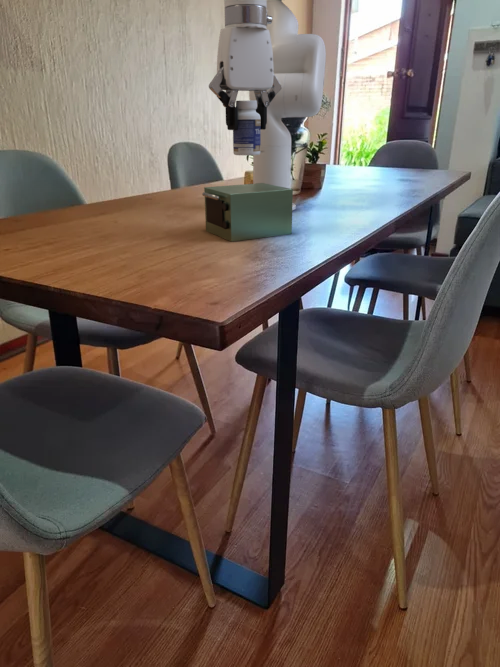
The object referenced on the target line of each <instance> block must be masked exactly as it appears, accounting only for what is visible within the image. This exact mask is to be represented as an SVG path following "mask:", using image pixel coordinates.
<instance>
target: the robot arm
mask: <svg viewBox="0 0 500 667" xmlns="http://www.w3.org/2000/svg"><path fill="white" fill-rule="evenodd" d="M223 2H224V4H223V5H224V28H221V29H220V31H219V37H218V45H217V55H216V74H215V75H214V77H213V78H212V80H211V81H210V83H209V84H208V89H209V90H210V91H211V92H212V93H213V94H214V95H215V96H216V97H217V99H218V100H219V101H220V103H221V104H222V106H223V107H224V108H225V125H226V126H227V127H226V128H227V130H228V131H233V130H237V129H238V108H237V107H236V101H237V99H238V98H237V97H238V93H239V92H248V97H249V101H257V109H256V112H257V113H258V114H259V115H260V117H261V145H260V154H259V155H252V159H253V160H252V168H253V169H252V184H256V183H265V184H270V185H275V186H280V187H285V188H289V189H291V176H292V174H291V172H292V135H291V132H290V130H289V129H288V127H287V126H286V125H285V123H284V122H283V121H282V119H285V118H310V117H315V116H316V115H318V113H319V112H320V110H321V107H322V105H323V104H322V103H323V96H324V95H323V94H324V85H325V73H326V62H327V61H326V60H327V59H326V58H327V51H326V44H325V41H324V39H323V38H322V36H320V35H319V34H315V33H299V21H298V19H297V17H296V15H295V14H294V13H293V11H292V10H291V9H290V7H289V6H288V5H286V4H285V3H284V2H283V0H223ZM296 208H297V205H296V204H295V203H293V202H292V212H293V211H295V210H296Z"/></svg>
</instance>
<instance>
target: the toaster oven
mask: <svg viewBox="0 0 500 667" xmlns="http://www.w3.org/2000/svg"><path fill="white" fill-rule="evenodd" d="M203 189H204V190H203V191H204V192H202V196H203V197H204V211H205V212H204V215H205V231H206V232H208V233H210V234H213V235H215V236H218V237H220V238H222V239H224V240H226V241H229V242H231V243H232V242H241V241H248V240H254V239H263V238H270V237H271V238H272V237H280V236H287V235H292V232H293V211H292V203H293V201H294V200H293V198H294V197H293V196H294V195H293V193H294V188H290V189H289V188H285V187H280V186H275V185H270V184H265V183H256V184H253V183H243V184H231V185H217V186H205V187H203Z"/></svg>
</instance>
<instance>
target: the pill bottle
mask: <svg viewBox="0 0 500 667" xmlns="http://www.w3.org/2000/svg"><path fill="white" fill-rule="evenodd" d="M235 107H237V108H238V129H237V130H232V147H233V149H232V150H233V152H232V153H233V155H234V156H253V155H259V154H260V145H261V117H260V115H259V114H258V113H257V112H256V109H257V101H250V99H249V100H236V102H235Z"/></svg>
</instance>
